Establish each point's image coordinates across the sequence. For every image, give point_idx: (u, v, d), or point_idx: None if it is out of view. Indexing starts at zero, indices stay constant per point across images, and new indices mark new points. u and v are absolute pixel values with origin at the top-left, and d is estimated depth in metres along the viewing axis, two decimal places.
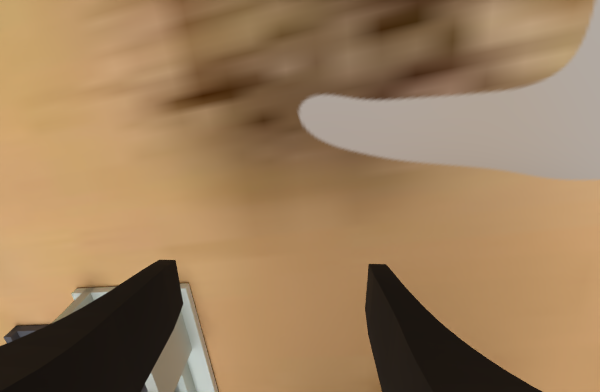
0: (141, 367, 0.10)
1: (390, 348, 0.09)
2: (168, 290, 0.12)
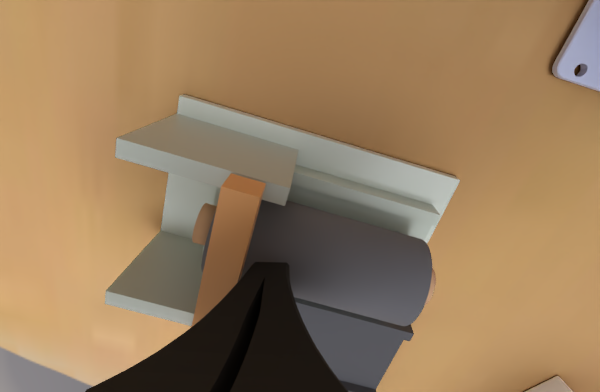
0: None
1: None
2: None
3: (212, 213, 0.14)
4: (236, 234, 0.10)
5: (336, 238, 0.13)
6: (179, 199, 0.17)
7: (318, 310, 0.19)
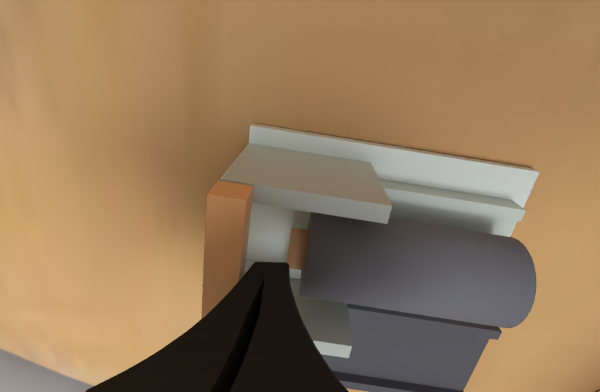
0: None
1: None
2: None
3: (302, 237, 0.14)
4: (229, 239, 0.11)
5: (432, 248, 0.13)
6: (255, 224, 0.18)
7: (401, 318, 0.19)
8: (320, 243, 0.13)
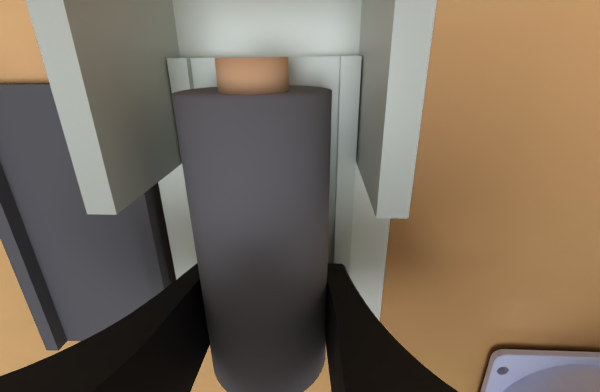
0: (190, 369, 0.10)
1: (334, 346, 0.09)
2: None
3: (283, 80, 0.08)
4: None
5: (317, 276, 0.09)
6: None
7: (151, 248, 0.13)
8: (302, 116, 0.07)
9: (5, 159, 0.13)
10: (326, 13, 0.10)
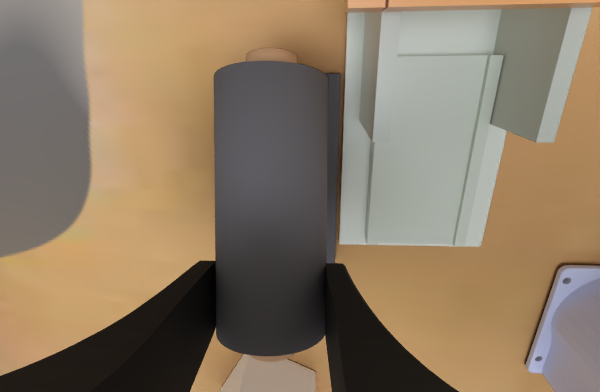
0: (189, 369, 0.10)
1: (334, 346, 0.09)
2: (210, 291, 0.12)
3: None
4: None
5: (319, 220, 0.11)
6: (424, 13, 0.16)
7: (333, 186, 0.20)
8: (310, 79, 0.10)
9: None
10: (475, 28, 0.17)
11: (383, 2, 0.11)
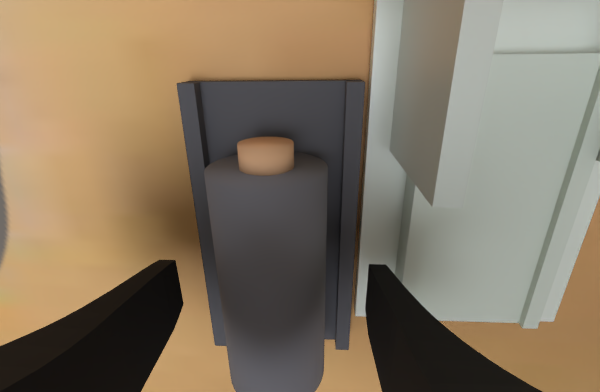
0: (141, 367, 0.10)
1: (390, 348, 0.09)
2: (168, 290, 0.12)
3: (291, 160, 0.11)
4: None
5: (319, 305, 0.12)
6: None
7: (350, 243, 0.13)
8: (310, 194, 0.10)
9: (214, 155, 0.13)
10: (580, 11, 0.10)
11: None
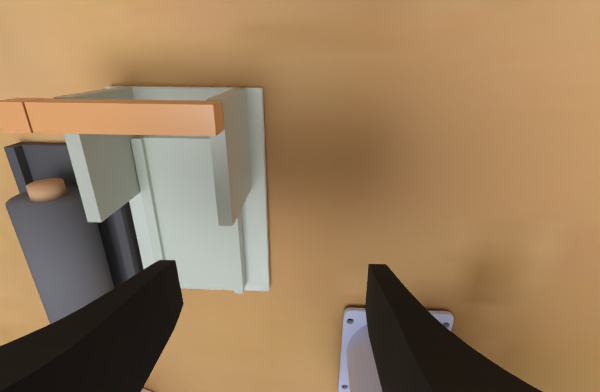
0: (141, 367, 0.10)
1: (390, 348, 0.09)
2: (168, 290, 0.12)
3: (58, 193, 0.19)
4: (178, 124, 0.13)
5: (88, 275, 0.21)
6: None
7: (125, 239, 0.22)
8: (57, 212, 0.18)
9: None
10: None
11: (28, 129, 0.13)
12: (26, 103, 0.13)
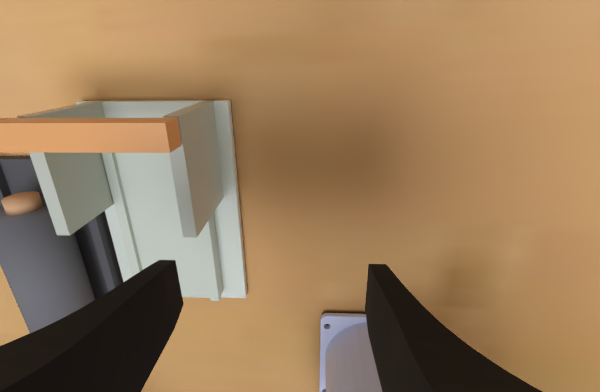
0: (141, 367, 0.10)
1: (390, 348, 0.09)
2: (168, 290, 0.12)
3: (33, 206, 0.20)
4: (133, 142, 0.13)
5: (65, 285, 0.21)
6: (140, 114, 0.20)
7: (102, 249, 0.23)
8: (32, 225, 0.19)
9: None
10: None
11: None
12: None
